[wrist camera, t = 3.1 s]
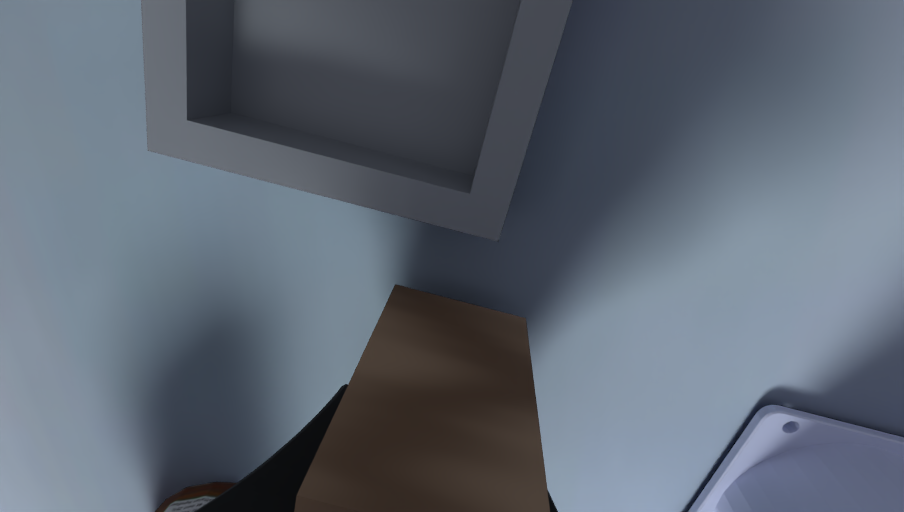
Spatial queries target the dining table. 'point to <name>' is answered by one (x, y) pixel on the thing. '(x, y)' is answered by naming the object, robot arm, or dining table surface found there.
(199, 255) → the dining table surface
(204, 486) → the food container
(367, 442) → the brown block
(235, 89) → the grey shallow tray
